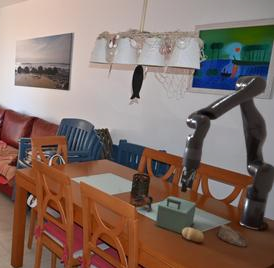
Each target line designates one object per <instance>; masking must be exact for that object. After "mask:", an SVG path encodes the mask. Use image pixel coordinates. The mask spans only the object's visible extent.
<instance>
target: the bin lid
mask: <svg viewBox="0 0 274 268" xmlns="http://www.w3.org/2000/svg"><path fill="white" fill-rule="evenodd" d="M195 205H196V206H197V202H193V201H190V200H186V199H182V198H179V197H175V196H171V195H169V196H168V197H167V198H166V199H164V200H162V201H161V202H159V203H158V204H157V207H158V206H159V207H162V208H165V209H168V210H172V211H175V212H178V213H181V214H185V215H186V214H187V213H188V212H189V211H190V210H191V209H192V208H193V207H194V206H195Z"/></svg>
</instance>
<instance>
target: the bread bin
mask: <svg viewBox="0 0 274 268" xmlns="http://www.w3.org/2000/svg"><path fill="white" fill-rule="evenodd" d="M196 209H197V204H196V205H195V206H194V207H193V208H192V209H191V210H190V211H189V212H188V213H187V214H186V215H185V214H181V213H178V212H175V211H172V210H168V209H165V208H162V207H159V206H158V205H157V213H156V219H155V226H158V227H160V228H163V229H166V230H169V231H172V232H175V233H178V234H181V235H183V234H182V231H183V229H184V228H186V227H190V228H191V226H192V225H193V224H194V219H195V214H196Z"/></svg>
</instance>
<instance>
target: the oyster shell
mask: <svg viewBox="0 0 274 268" xmlns="http://www.w3.org/2000/svg"><path fill="white" fill-rule="evenodd" d="M219 226H220V228H219V230H218V231H219V232H218V234H217V235H218V238H220V239H221V241H225V242H227V243H229V244H232V245H234V246H235V245H236V246H238V247H246V242H245V240H244V238H242V237H241V236H242V234H241V231H237V230H233V228H231V227H230V226H227V225H225V224H220V225H219Z"/></svg>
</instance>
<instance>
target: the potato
mask: <svg viewBox="0 0 274 268" xmlns="http://www.w3.org/2000/svg"><path fill="white" fill-rule="evenodd" d="M181 235H182V236H183V237H184V238H185V239H186V240H189V241H192V242H194V243H202V242H203V241H204V240H205V235H204V233H203V232H202V231H201V230H199V229H195V228H193V227H191V226H190V227H186V228H184V229H183V231H182V234H181Z"/></svg>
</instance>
